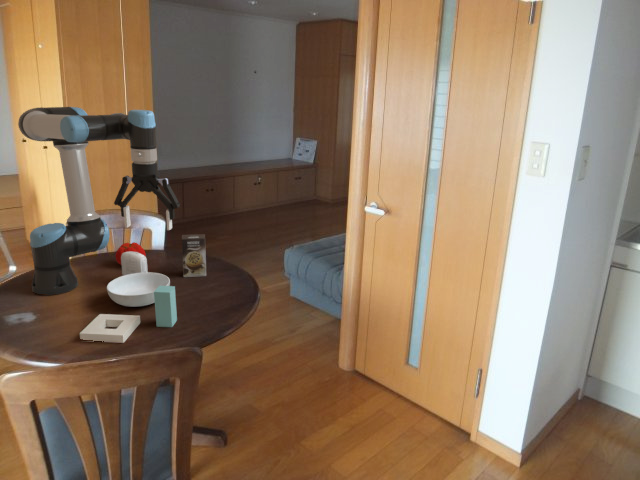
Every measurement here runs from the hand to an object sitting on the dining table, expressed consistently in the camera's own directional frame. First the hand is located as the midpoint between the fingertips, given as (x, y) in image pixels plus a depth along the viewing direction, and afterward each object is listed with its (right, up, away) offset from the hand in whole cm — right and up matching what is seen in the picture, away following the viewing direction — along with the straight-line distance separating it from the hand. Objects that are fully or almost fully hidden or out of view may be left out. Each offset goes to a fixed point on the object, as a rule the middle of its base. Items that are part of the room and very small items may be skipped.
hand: (148, 227), depth 158 cm
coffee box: (+4, -18, +42) cm, 46 cm away
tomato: (-24, -15, +49) cm, 57 cm away
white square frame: (-10, -32, -6) cm, 34 cm away
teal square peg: (+6, -31, +1) cm, 31 cm away
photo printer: (-16, -20, +32) cm, 41 cm away
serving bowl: (-9, -26, +16) cm, 32 cm away
